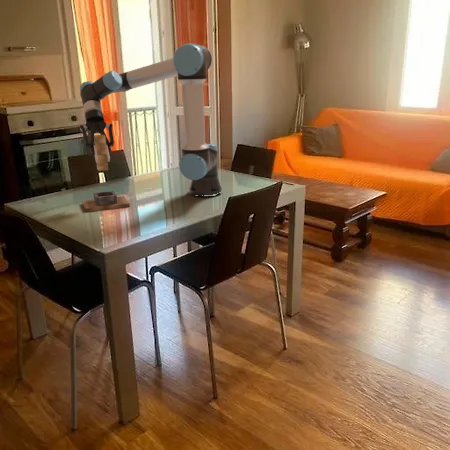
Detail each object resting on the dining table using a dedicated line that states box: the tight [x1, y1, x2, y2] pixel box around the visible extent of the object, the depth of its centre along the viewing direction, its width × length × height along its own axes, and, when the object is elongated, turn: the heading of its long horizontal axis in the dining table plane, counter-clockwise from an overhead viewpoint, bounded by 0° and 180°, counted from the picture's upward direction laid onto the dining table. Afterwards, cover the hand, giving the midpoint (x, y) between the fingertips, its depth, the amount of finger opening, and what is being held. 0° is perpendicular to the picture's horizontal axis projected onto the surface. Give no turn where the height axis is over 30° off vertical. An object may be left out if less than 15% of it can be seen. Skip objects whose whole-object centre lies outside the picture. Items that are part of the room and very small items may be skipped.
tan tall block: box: [94, 134, 109, 172], centre depth 188 cm, size 4×4×14 cm
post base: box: [81, 190, 131, 213], centre depth 194 cm, size 18×12×5 cm, turn 113°
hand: (103, 160), depth 185 cm, fingers closed on tan tall block, 4 cm apart
